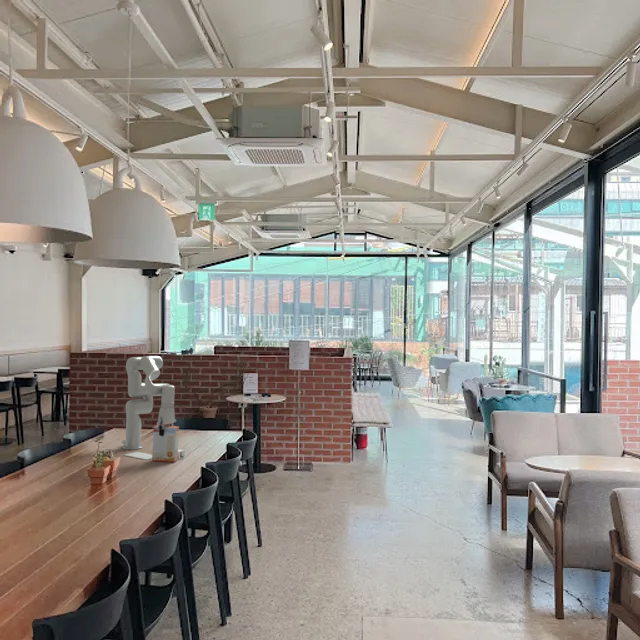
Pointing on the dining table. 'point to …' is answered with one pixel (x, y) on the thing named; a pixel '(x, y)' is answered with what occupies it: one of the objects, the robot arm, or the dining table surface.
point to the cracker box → (165, 444)
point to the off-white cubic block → (180, 454)
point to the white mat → (140, 455)
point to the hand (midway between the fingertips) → (166, 434)
